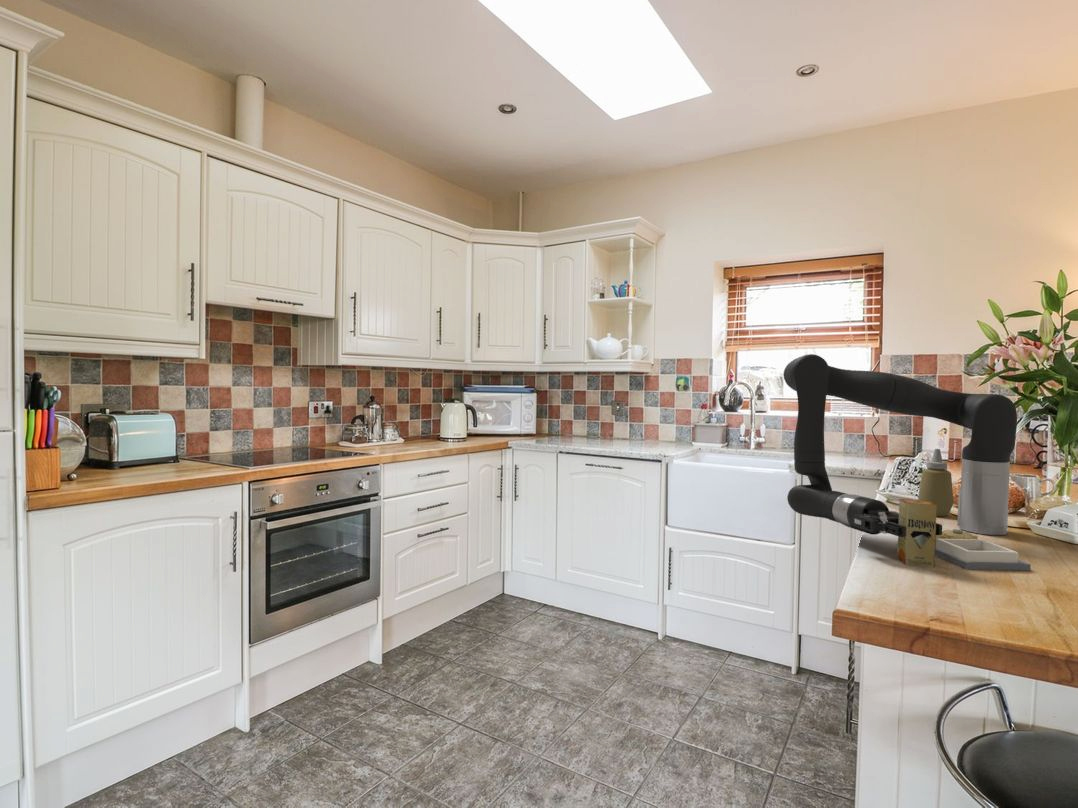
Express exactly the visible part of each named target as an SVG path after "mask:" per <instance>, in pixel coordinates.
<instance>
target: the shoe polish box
mask: <svg viewBox="0 0 1078 808" xmlns="http://www.w3.org/2000/svg"><path fill="white" fill-rule="evenodd" d="M898 501H899V502H898V513H899V525H903V526H905V527H906V536H905V537H898V536H897V558H898V559H899V561H901V562H902V563H903V564H904V565H906V566H907V565H908V566H919V567H930V568H935V566H936V564H935V563H936V555H935V542H936V523H937V516H936V513H937V505H935V504H933V503H931V502H929V501H927V500H918V499H907V498H906V499H905V498H899V499H898Z"/></svg>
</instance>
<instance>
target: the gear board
mask: <svg viewBox="0 0 1078 808" xmlns="http://www.w3.org/2000/svg"><path fill="white" fill-rule="evenodd" d="M936 538H937V539H978V535H976V534H972V533H971V532H969V531H964V530H963V529H944V530H942V535H936ZM972 551H983V550H972ZM935 557H938V558H941V559H943V560H945V561H947V562H949V563H951V564H954V565H956V566H958V567H961V568H962V569H964V570H989V571H991V570H995V571H1031V569H1032V567H1031V564H1030V563H1029V562H1027V561H1024V560H1021V559H1018V563H1004V562H967V561H965V560H962V559H960V558H958V557H955V556H953V555H951V554H949V553H946V552H944V551H942V550H939V549H937V548H936V542H935Z"/></svg>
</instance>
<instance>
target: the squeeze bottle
mask: <svg viewBox="0 0 1078 808" xmlns="http://www.w3.org/2000/svg"><path fill="white" fill-rule="evenodd" d="M947 469H948V463H947V462H944V461H943V457H942V452H941V448H935V449H934V450H933V454H932V458H931V460H930V461H926V468H925V469H924V470H922V472H921V477H920V483H919V490H918V498H917V500H927V501H929V502H931V503H933V504H935V505H937V513H936V517H948V516H949V515H950V512H951V509H952V508H953V506H954V502H955V501H954V492H953V491H954V490H953V480H952V473H951V471H949V470H947Z"/></svg>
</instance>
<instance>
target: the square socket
mask: <svg viewBox="0 0 1078 808" xmlns="http://www.w3.org/2000/svg"><path fill="white" fill-rule="evenodd" d="M936 548H937V549H939V550H942V551H944V552H946V553H949V554H951V555H953V556H955V557H958V558H960V559H962V560H965V561H967V562H1004V563H1018V560H1019V552H1017V551H1015V550H1012V549H1010V548H1007V547H1004V546H1002V545H998V544H996V543H993V542H990V541H987V540H985V539H978V538H977V539H937V538H936ZM972 550H983V551H972Z"/></svg>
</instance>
